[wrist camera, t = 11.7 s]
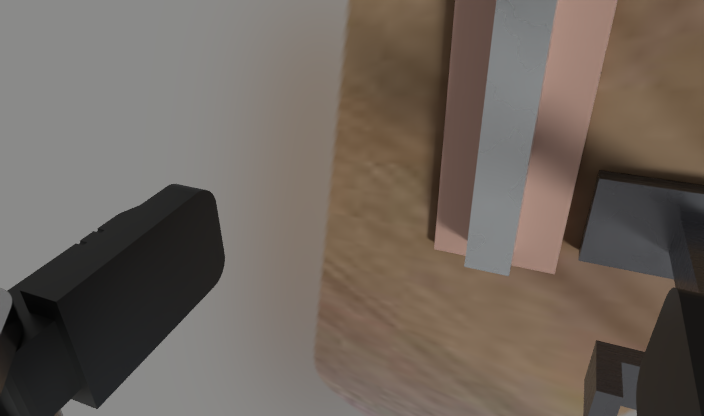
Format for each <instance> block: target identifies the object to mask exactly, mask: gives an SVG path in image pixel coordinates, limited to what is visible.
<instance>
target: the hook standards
mask: <svg viewBox="0 0 704 416" xmlns="http://www.w3.org/2000/svg"><path fill="white" fill-rule="evenodd" d="M579 261H584V262H589V263H594V264H599V265H604V266H609V267H614V268H619V269H624V270H629V271H634V272H639V273H644V274H650V275H655V276H660V277H665V278H670V279H674V281H675V287H676V288H679V289H684V290H688V291H693V292H698V293H703V294H704V185H698V184H691V183H684V182H677V181H670V180H663V179H656V178H650V177H643V176H636V175H629V174H622V173H615V172H609V171H602V170H599V173H598V177H597V181H596V185H595V189H594V193H593V197H592V201H591V205H590V209H589V213H588V217H587V221H586V225H585V229H584V233H583V237H582V241H581V245H580V249H579ZM644 354H645V352H643V351H638V350H634V349H630V348H626V347H622V346H618V345H614V344H609V343H605V342H601V341H597V340H596V343H595V346H594V350H593V353H592V356H591V360H590V363H589V366H588V370H587V373H586V376H585V379H584V414H583V416H617V414H618V411H619V408H620V406H624V407H628V408H631V409H635V410H637V408H636V388H637V380H638V374H639V370H640V366H641V362H642V359H643V356H644Z"/></svg>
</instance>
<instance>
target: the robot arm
mask: <svg viewBox="0 0 704 416" xmlns="http://www.w3.org/2000/svg"><path fill="white" fill-rule="evenodd" d="M224 262H225V255H224V248H223V242H222V236H221V230H220V223H219V217H218V211H217V205H216V200H215V198H214V196H213V194H212V193H211V192H210V191H207V190H203V189H198V188H192V187H188V186H183V185H178V184H171V185H169V186H167V187H165V188H164V189H163V190H161V191H160V192H158V193H157V194H156V195H154V196H153V197H151V198H150V199H148V200H147V201H146V202H144V203H143V204H141V205H140V206H137V207H135V208H132V209H130V210H127V211H125V212H122V213H120V214H118V215H116V216H115V217H114V218H112V219H111V220H109V221H108V222H106V223H105V224H103V225H102V226H101V227H99V228H98V231H97V232H94V231H93V232H92V233H90V234H89V235H88V236H86V237H85V238H83V239H82V240H81V241H80V244H75V245H73V246H72V247H70V248H69V249H67V250H66V251H64V252H63V253H61V254H60V255H59V256H57V257H56V258H54V259H53V260H52V261H50V262H49V263H47V264H46V265H44V266H43V267H41V268H40V269H38V270H37V271H35V272H34V273H33V274H31V275H30V276H28V277H27V278H25V279H24V280H22V281H21V282H19V283H18V284H17V285H15V286H14V287H12V288H11V289H9V290H8V291H6V290H4V289H2V288H0V416H63V414H62V411H61V408H62V407H63V406H64V405H65V404H66V403H67V402H68V401H69V400H70V399H73V400H75V401H78V402H80V403H83V404H86V405H88V406H91V407H93V408H96V409H98V408H99V407H100V406H101V405H102V404H103V403H104V402H105V400H106V399H107V398H108V397H109V396H110V395H111V394H112V393H113V392H114V391H115V390H116V389H117V388H118V387H119V386H120V385H121V384H122V383H123V382H124V380H126V378H127V377H128V376H129V375H130V374H131V373H132V372H133V371H134V370H135V369H136V368H137V367H138V366H139V365H140V364H141V363H142V362H143V361H144V360H145V358H147V356H148V355H149V354H150V353H151V352H152V351H153V350H154V349H155V348H156V347H157V346H158V345H159V344H160V343H161V342H162V341H163V340H164V339H165V338H166V337H167V335H168V334H169V333H170V332H171V331H172V330H173V329H174V328H175V327H176V326H177V325H178V324H179V323H180V322H181V321H182V320H183V319H184V318H185V317H186V316H187V315H188V314H189V312H190V311H191V310H192V309H193V308H194V307H195V306H196V305H197V304H198V303H199V302H200V301H201V300H202V299H203V298H204V297H205V296H206V295H207V294H208V292H209V291H210V290H211V289H212V288H213V287H214V286H215V285H216V284H217V282H218V281H219V279H220V277H221V274H222V272H223V268H224ZM636 408H637V416H704V294H703V293H698V292H693V291H688V290H684V289H679V288H672V289H671V290H670V291H669V293H668V294H667V296H666V299H665V301H664V304H663V306H662V309H661V312H660V314H659V317H658V320H657V322H656V325H655V328H654V330H653V333H652V335H651V338H650V341H649V343H648V346H647V349H646V351H645V354H644V356H643V359H642V362H641V366H640V370H639V374H638V380H637V388H636Z"/></svg>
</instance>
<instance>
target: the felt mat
mask: <svg viewBox="0 0 704 416" xmlns="http://www.w3.org/2000/svg"><path fill="white" fill-rule="evenodd" d="M617 1H618V0H559V1H558V7H557V13H556V18H555V24H554V30H553V35H552V41H551V47H550V52H549V58H548V64H547V70H546V75H545V81H544V87H543V92H542V98H541V104H540V109H539V115H538V121H537V126H536V132H535V138H534V143H533V149H532V155H531V161H530V166H529V172H528V178H527V183H526V189H525V195H524V200H523V206H522V212H521V217H520V223H519V229H518V234H517V240H516V246H515V252H514V256H513V260H512V265H513V266H518V267H522V268H527V269H532V270H537V271H542V272H546V273H551V274H555V270H556V266H557V262H558V257H559V253H560V249H561V244H562V240H563V235H564V231H565V227H566V222H567V218H568V214H569V209H570V205H571V201H572V196H573V192H574V188H575V183H576V179H577V175H578V170H579V166H580V162H581V157H582V153H583V148H584V144H585V140H586V135H587V131H588V127H589V122H590V118H591V114H592V109H593V105H594V101H595V96H596V92H597V88H598V83H599V79H600V75H601V70H602V66H603V61H604V57H605V53H606V48H607V44H608V40H609V35H610V31H611V27H612V22H613V18H614V14H615V9H616V5H617ZM495 8H496V0H455V8H454V20H453V32H452V44H451V56H450V68H449V79H448V91H447V103H446V115H445V127H444V139H443V150H442V162H441V174H440V186H439V198H438V210H437V221H436V233H435V245H434V249H436V250H441V251H446V252H450V253H455V254H460V255H465V256H466V249H467V241H468V233H469V224H470V216H471V208H472V199H473V191H474V183H475V174H476V166H477V158H478V149H479V141H480V133H481V124H482V116H483V108H484V99H485V91H486V83H487V74H488V66H489V58H490V49H491V41H492V33H493V24H494V16H495Z"/></svg>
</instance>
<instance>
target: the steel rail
mask: <svg viewBox="0 0 704 416" xmlns="http://www.w3.org/2000/svg"><path fill="white" fill-rule="evenodd" d="M558 1H559V0H496V8H495V16H494V24H493V33H492V41H491V49H490V58H489V66H488V74H487V83H486V91H485V99H484V108H483V116H482V124H481V133H480V141H479V149H478V158H477V166H476V174H475V183H474V191H473V199H472V208H471V216H470V224H469V233H468V241H467V249H466V258H465V266H464V267H469V268H473V269H478V270H483V271H487V272H492V273H497V274H501V275H506V276H509V273H510V269H511V265H512V260H513V256H514V252H515V246H516V240H517V234H518V229H519V223H520V217H521V212H522V206H523V200H524V195H525V189H526V183H527V178H528V172H529V166H530V161H531V155H532V149H533V143H534V138H535V132H536V126H537V121H538V115H539V109H540V104H541V98H542V92H543V87H544V81H545V75H546V70H547V64H548V58H549V52H550V47H551V41H552V35H553V30H554V24H555V18H556V13H557V7H558Z"/></svg>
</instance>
